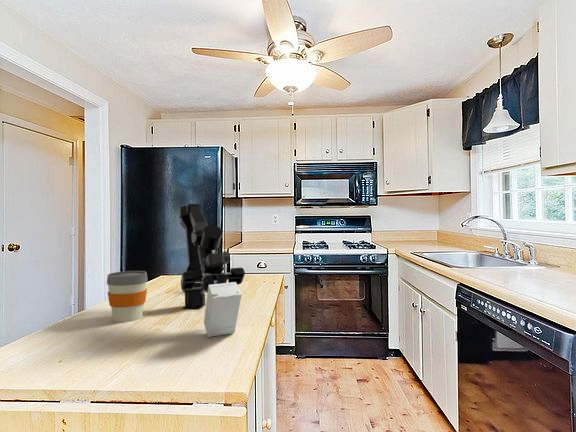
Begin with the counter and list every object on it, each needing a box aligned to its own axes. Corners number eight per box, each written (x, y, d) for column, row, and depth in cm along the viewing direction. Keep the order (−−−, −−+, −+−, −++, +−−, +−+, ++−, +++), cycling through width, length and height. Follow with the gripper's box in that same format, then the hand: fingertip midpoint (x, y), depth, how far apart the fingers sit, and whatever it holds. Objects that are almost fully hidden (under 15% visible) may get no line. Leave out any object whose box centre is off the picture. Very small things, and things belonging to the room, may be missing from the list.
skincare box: (229, 319, 108) (237, 280, 101) (234, 334, 103) (243, 294, 97) (202, 323, 104) (208, 282, 98) (206, 338, 99) (212, 297, 93)
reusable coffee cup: (156, 315, 122) (155, 272, 122) (125, 325, 111) (125, 278, 111) (129, 311, 128) (129, 269, 127) (98, 321, 116) (97, 275, 116)
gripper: (182, 244, 103) (189, 289, 94) (242, 241, 112) (255, 282, 102) (177, 267, 111) (184, 311, 101) (235, 263, 119) (246, 303, 109)
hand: (218, 301), depth 103 cm, fingers closed
